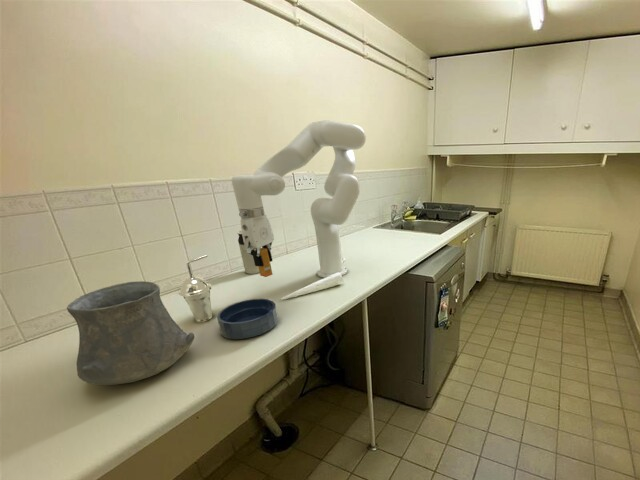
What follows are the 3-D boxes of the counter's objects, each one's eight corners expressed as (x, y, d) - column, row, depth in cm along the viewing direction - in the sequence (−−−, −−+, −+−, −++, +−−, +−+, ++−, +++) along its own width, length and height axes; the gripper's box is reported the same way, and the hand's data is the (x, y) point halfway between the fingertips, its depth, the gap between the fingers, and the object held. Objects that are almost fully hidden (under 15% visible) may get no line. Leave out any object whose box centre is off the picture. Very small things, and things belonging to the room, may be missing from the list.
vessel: (184, 387, 69) (156, 307, 62) (60, 410, 63) (13, 325, 56) (212, 336, 88) (193, 270, 81) (119, 350, 83) (90, 281, 75)
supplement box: (273, 274, 114) (267, 248, 110) (265, 277, 112) (258, 251, 108) (268, 272, 116) (262, 247, 112) (259, 275, 113) (253, 249, 109)
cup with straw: (194, 313, 101) (176, 255, 94) (224, 310, 103) (209, 252, 96) (183, 327, 93) (163, 264, 86) (216, 322, 95) (199, 261, 88)
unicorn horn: (277, 297, 112) (275, 285, 110) (339, 281, 125) (338, 270, 123) (281, 302, 108) (279, 289, 106) (344, 285, 121) (343, 273, 119)
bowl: (247, 311, 102) (244, 296, 100) (288, 316, 98) (286, 301, 96) (208, 337, 88) (203, 320, 86) (254, 344, 84) (250, 326, 82)
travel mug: (254, 275, 133) (245, 234, 126) (241, 272, 136) (231, 232, 129) (269, 269, 139) (261, 229, 133) (256, 266, 143) (248, 228, 136)
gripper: (243, 218, 97) (257, 273, 104) (277, 208, 111) (287, 256, 118) (223, 218, 98) (238, 271, 105) (259, 208, 113) (270, 255, 120)
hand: (264, 263), depth 112 cm, fingers closed on supplement box, 4 cm apart
